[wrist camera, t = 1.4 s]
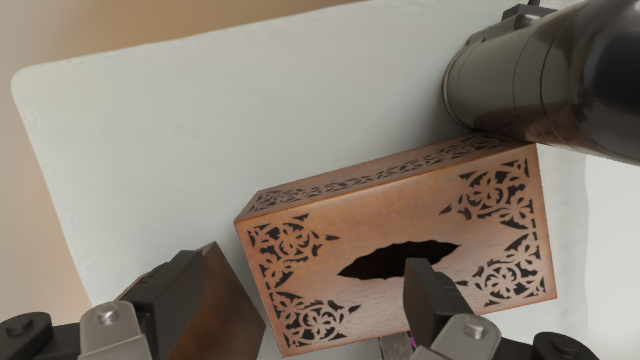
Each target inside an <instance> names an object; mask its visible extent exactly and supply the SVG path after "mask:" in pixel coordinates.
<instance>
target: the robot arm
mask: <svg viewBox="0 0 640 360" xmlns="http://www.w3.org/2000/svg"><path fill="white" fill-rule="evenodd" d="M539 3H540V0H529V2H528V4H527V5H524V4H518V5H516V6H514V7H512V8H510V9H508V10H506V11H504V12H503V16H502V20H501V22H499V23H497V24H495V25H493V26H490V27H488V28H486V29H484V30H481V31H479V32H477V33H475V34H473V35H471V36H470V37H469V41H468V44H467V46H466V47H465V48H463V49H462V50H461V51H460V52H459V53H458V54H457V55H456V56H455V57H454V58H453V60H452V61H451V63H450V64H449V66H448V68H447V71H446V73H445V77H444V81H443V98H444V102H445V105H446V108H447V110H448V111H449V113H450V114H451V116H452V117H453V118H454V119H455V120H456V121H457V122H458V123H460V124H461V125H463V126H465V127H467V128H469V129H473V130H477V131H484V132H490V133H495V134H499V135H504V136H508V137H513V138H517V139H522V140H526V141H531V142H535V143H540V144H544V145H549V146H553V147H557V148H562V149H566V150H571V151H575V152H580V153H584V154H589V155H594V156H598V157H602V158H607V159H611V160H614V161H619V162H622V163H626V164H631V165H635V166H640V0H585V1H582V2H579V3H577V4H574V5H572V6H569V7H567V8H564V9H561V10H556V9H549V8H543V7H539ZM204 295H205V276H204V261H203V254H202V252H201V251H189V250H181V251H180V252H179V253H178V254H177V255H176V256H175V257H174V258H173V259H172V260H171V261H170V262H165V263H164V264H162V265H160V266H158V267H156V268H154V269H153V270H152V271H151V272H150V273H149V274H148V275H147V276H146V277H145V278H144V279H142V280H141V281H140V283H139V284H137V285H136V286H135V287H134V288H133V289H132V290H131V291H130V292H129V293H128V294H127V295H126V296H125V297H124V298H123V299H121V300H120V301H111V302H107V303H104V304H101V305H98V306H96V307H94V308H92V309H90V310H89V311H87V312H86V313H85V314H84V315H83V316H82V317H81V319H80V322H78V323H72V324H66V325H60V326H53V327H52V322H51V317H50V315H49V314H47V313H44V312H31V313H26V314H22V315H18V316H15V317H13V318H10V319H8V320H6V321H3V322H2V323H0V360H166V359H167V357H168V356H169V354H170V353H171V351H172V350H173V348H174V346H175V345H176V343H177V342H178V340H179V339H180V337H181V335H182V334H183V332H184V331H185V329H186V328H187V326H188V324H189V323H190V321H191V320H192V318H193V317H194V315H195V313H196V312H197V310H198V309H199V307H200V306H201V304H202V302H203V299H204ZM403 308H404V312H405V315H406V318H407V321H408V324H409V327H410V330H411V333H412V336H413V339H414V342H415V345H416V347H417V349H416V350H415V351H414V353H413V354H412V355H411V357H410V358H409V359H408V360H599V359H598V358H597V357H596V355H595V354H594V353H593V352H592V351H591V350H590V349H589V348H587V347H586V346H585V345H583V344H582V343H580V342H579V341H577V340H575V339H573V338H571V337H568V336H566V335H562V334H559V333H554V332H541V333H538V334H536V335H535V337H534V340H533V345H530V344H526V343H522V342H517V341H513V340H510V339H506V338H503V337H501V332H500V330H499V328H498V327H497V326H496V325H495V324H494V323H492V322H491V321H489V320H488V319H486V318H483V317H481V316H478V315H475V313H474V312H473V310H472V309H471V307H470V306H469V304H468V303H467V301H466V300H465V298H464V297H463V296H462V294H461V292H460V291H459V289H457V286H456V285H455V283H454V282H453V280H452V279H451V278H450V277H448V276H447V275H445V274H444V273H443V272H436V271H434V269H433V268H432V266H431V264H430V263H429V261H428V259H426V258H407V259H406V263H405V273H404V285H403Z"/></svg>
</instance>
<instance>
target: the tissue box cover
mask: <svg viewBox="0 0 640 360" xmlns="http://www.w3.org/2000/svg"><path fill="white" fill-rule="evenodd" d="M233 223H234V225H235V228H236V231H237V234H238V236H239V239H240V242H241V245H242V247H243V250H244V253H245V256H246V258H247V261H248V264H249V267H250V269H251V272H252V275H253V278H254V280H255V283H256V286H257V289H258V291H259V294H260V297H261V300H262V302H263V305H264V308H265V311H266V313H267V316H268V319H269V322H270V324H271V327H272V330H273V333H274V335H275V338H276V341H277V344H278V346H279V349H280V352H281V355H282V357H283V358H285V357H290V356H294V355H299V354H303V353H308V352H313V351H317V350H322V349H326V348H331V347H336V346H340V345H345V344H349V343H354V342H359V341H363V340H368V339H372V338H377V337H382V336H386V335H391V334H395V333H400V332H405V331H409V330H410V327H409V324H408V321H407V318H406V315H405V312H404V308H403V285H404V273H405V263H406V259H407V258H426V259H428V261H429V263H430V264H431V266H432V268H433V269H434V271H436V272H443V273H444V274H445V275H447V276H448V277H450V278H451V279H452V280H453V282H454V283H455V285H456V286H457V289H459V291H460V292H461V294H462V296H463V297H464V298H465V300H466V301H467V303H468V304H469V306H470V307H471V309H472V310H473V312H474V313H475V315H483V314H487V313H492V312H497V311H501V310H506V309H510V308H515V307H520V306H524V305H529V304H533V303H538V302H543V301H547V300H552V299H556V298H557V291H556V284H555V277H554V270H553V262H552V255H551V248H550V241H549V234H548V226H547V219H546V212H545V205H544V198H543V190H542V183H541V176H540V169H539V162H538V154H537V147H536V143H535V142H530V141H526V140H521V139H517V138H513V137H508V136H504V135H499V134H495V133H490V132H484V131H479V132H475V133H471V134H468V135H464V136H460V137H456V138H453V139H449V140H445V141H442V142H438V143H434V144H431V145H427V146H423V147H419V148H416V149H412V150H408V151H405V152H401V153H397V154H394V155H390V156H386V157H382V158H379V159H375V160H371V161H368V162H364V163H360V164H357V165H353V166H349V167H345V168H342V169H338V170H334V171H331V172H327V173H323V174H320V175H316V176H312V177H308V178H305V179H301V180H297V181H294V182H290V183H286V184H283V185H279V186H275V187H271V188H268V189H264V190H260V191H258V192H257V193H256V194H255V195H254V197H253V198H252V199H251V200H250V202H249V203H248V204H247V206H246V207H245V208H244V209H243V211H242V212H241V213H240V214H239V216H238V217H237V218H236V220H235V221H234V222H233Z"/></svg>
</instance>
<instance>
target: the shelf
mask: <svg viewBox="0 0 640 360" xmlns="http://www.w3.org/2000/svg"><path fill="white" fill-rule="evenodd" d="M195 251H201V252H202V254H203V261H204V276H205V295H204V299H203V302H202V304H201V306H200V307H199V309H198V310H197V312H196V313H195V315H194V317H193V318H192V320H191V321H190V323H189V324H188V326H187V328H186V329H185V331H184V332H183V334H182V335H181V337H180V339H179V340H178V342H177V343H176V345H175V346H174V348H173V350H172V351H171V353H170V354H169V356H168V357H167V359H166V360H256V359H257V356H258V352H259V349H260V345H261V342H262V339H263V335H264V332H265V328H266V325H265V323H264V321H263V320H262V318H261V316H260V315H259V313H258V311H257V310H256V308H255V306H254V305H253V303H252V301H251V300H250V298H249V296H248V295H247V293H246V291H245V290H244V288H243V286H242V285H241V283H240V281H239V280H238V278H237V276H236V275H235V273H234V271H233V270H232V268H231V266H230V265H229V263H228V261H227V260H226V258H225V256H224V255H223V253H222V251H221V250H220V248H219V246H218V245H217V243H216V241H215V242H213V243H210V244H208V245H206V246H204V247H202V248H200V249H197V250H195ZM150 272H151V271H150ZM150 272H148V273H146V274H144V275H142V276H139V277H138V278H137V279H136V280H135V281H134V282H133V283H132V284H131V285H130V286H129V287H128V288H127V289H125V290H124V291H123V292H122V293H121V294H120V295H119V296H118V297H117V298H116V299H115V300H114V301H120V300H121V299H123V298H124V297H125V296H126V295H127V294H128V293H129V292H130V291H131V290H132V289H133V288H134V287H135V286H136V285H137V284H139V283H140V281H141V280H142V279H144V278H145V277H146V276H147V275H148V274H149V273H150Z"/></svg>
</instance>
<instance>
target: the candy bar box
mask: <svg viewBox="0 0 640 360" xmlns="http://www.w3.org/2000/svg"><path fill="white" fill-rule="evenodd" d="M378 339H379V344H380V349H381V354H382V359H383V360H408V359H409V358H410V357H411V355H412V354H413V353H414V351H415V350H416V349H417V347H416V345H415V342H414V339H413V336H412V333H411V330H409V331H405V332H400V333H395V334H391V335H386V336H382V337H378Z"/></svg>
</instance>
